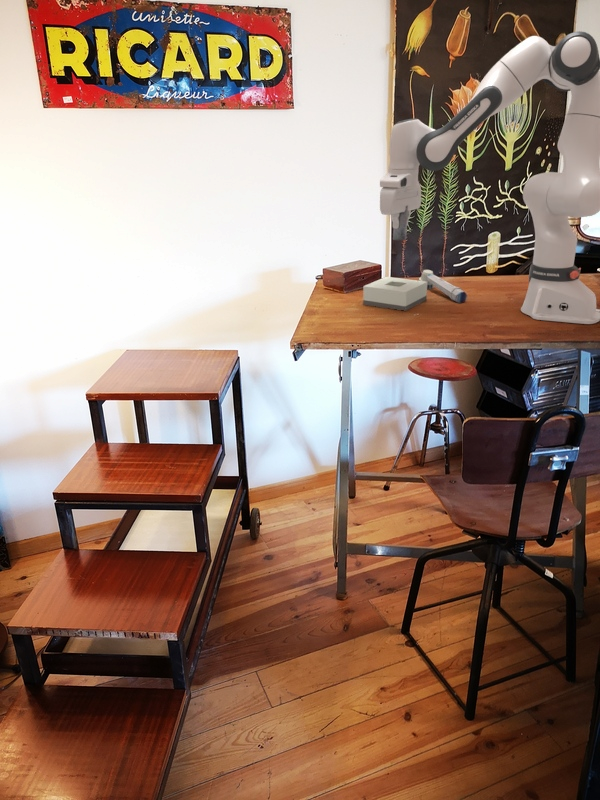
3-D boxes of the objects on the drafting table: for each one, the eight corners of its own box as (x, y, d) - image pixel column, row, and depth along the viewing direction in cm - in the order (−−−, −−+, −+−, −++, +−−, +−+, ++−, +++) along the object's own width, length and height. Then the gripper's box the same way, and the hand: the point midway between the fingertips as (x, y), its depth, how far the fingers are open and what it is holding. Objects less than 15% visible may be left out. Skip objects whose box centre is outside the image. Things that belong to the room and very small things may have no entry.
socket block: (426, 299, 196) (427, 281, 193) (405, 311, 185) (405, 292, 182) (385, 294, 204) (386, 276, 202) (363, 304, 193) (363, 286, 191)
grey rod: (455, 292, 189) (417, 266, 209) (452, 312, 193) (415, 284, 213) (470, 290, 191) (430, 264, 211) (466, 310, 194) (428, 282, 214)
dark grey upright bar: (408, 238, 185) (410, 205, 181) (402, 240, 182) (404, 206, 178) (396, 237, 188) (398, 204, 183) (390, 239, 185) (392, 205, 180)
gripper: (409, 176, 187) (406, 222, 193) (376, 181, 172) (374, 230, 178) (427, 177, 184) (424, 223, 189) (396, 181, 169) (393, 232, 174)
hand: (400, 227), depth 184 cm, fingers closed on dark grey upright bar, 4 cm apart
